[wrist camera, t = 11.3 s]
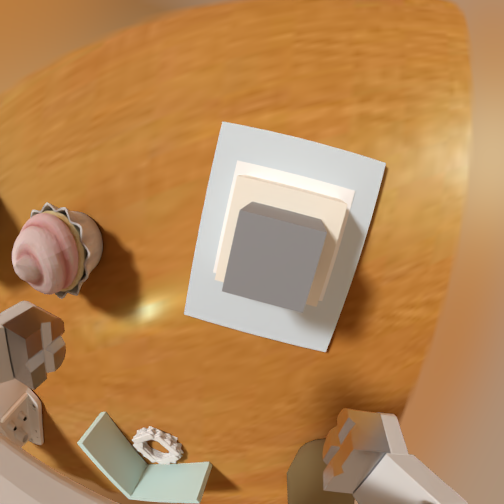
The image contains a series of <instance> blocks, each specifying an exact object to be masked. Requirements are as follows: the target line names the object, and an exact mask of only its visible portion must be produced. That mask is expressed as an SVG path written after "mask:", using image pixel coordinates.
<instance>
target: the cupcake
mask: <svg viewBox="0 0 504 504" xmlns="http://www.w3.org/2000/svg"><path fill="white" fill-rule="evenodd" d="M102 251H103V241H102V236H101V232H100V230H99V228H98V226H97V225H96V223H95V222H94V220H93V219H91V218H90V217H89V216H88V215H86V214H84V213H82V212H75V211H70V210H68V209H67V208H65V207H62V208H57V207H55V206H54V205H52V204H50V203H48V202H47V203H46V204H45V205H44V206H43V208H42V210H41V211H38V210H32V212H31V218H30V219H29V220H28V221H27V222H26V223H25V225H24V226H23V228H22V230H21V232H20V234H19V235H18V237H17V239H16V241H15V243H14V246H13V250H12V264H13V267H14V270H15V272H16V274H17V275H18V276H19V277H20V278H21V279H22V280H24V281H26V282H27V283H29V284H30V285H31V286H32V287H33V288H34V289H36V290H38V291H40V292H42V293H44V294H54V293H55V294H56V295H57V296H58V297H59V298H61V299H62V298H64V297H65V296H66V294H67V293H70V294H72V295H78V293H79V291H80V288H81V286H82V284H83V282H85V281H86V280H87V279H88V277H89V274H90V272H91V271H92V270H93V269H94V268H95V267H96V265H97V264H98V263H99V261H100V258H101V255H102Z"/></svg>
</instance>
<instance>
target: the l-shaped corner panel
mask: <svg viewBox="0 0 504 504" xmlns="http://www.w3.org/2000/svg"><path fill="white" fill-rule="evenodd" d="M133 438H134V439H132V441H133V442H134V444H133V446H134V447H135V448H136V449H137V451H138V452H141V453H142V454H143V456H144V457H146V458H148V459H149V460H150V461H151V462H156V461H157V462H158V463H159V464H147V463H146V462H145V461H144V460H143V458H142V457H141V456H140V455H139V454H138V452H137V451H136V450H135V449H134V448H133V446H132V445H131V444H130V443H129V441H128V440H127V439H126V438H125V436H124V435H123V434H122V433H121V431H120V430H119V429H118V427H117V426H116V425H115V423H114V422H113V421H112V419H111V418H110V417H109V415H108V414H107V413H106V412H101V413H100V414H99V416H98V417H97V418H96V419H95V421H94V422H93V423H92V425H91V426H90V427H89V428H88V430H87V431H86V432H85V433H84V435H83V436H82V437H81V439H80V440H79V441H78V443H77V444H78V445H79V446H80V447H81V448H82V450H83V451H84V452H85V453H86V454H87V456H88V457H89V458H90V459H91V460H92V461H93V462H94V464H95V465H96V466H97V467H98V468H99V469H100V470H101V471H102V472H103V473H104V474H105V476H106V477H107V478H108V479H109V480H110V481H111V482H112V483H113V484H114V485H115V486H116V487H117V488H118V489H119V490H120V491H121V492H122V493H123V494H124V495H125V496H126V497H127V498H128V499H131V500H142V501H153V502H169V503H200V502H201V499H202V496H203V493H204V490H205V487H206V484H207V480H208V477H209V474H210V471H211V468H212V464H211V463H210V462H199V463H182V464H170V462H171V463H176V460H179V458H181V456H182V455H181V454H182V453H183V451H182V450H181V446H182V444H181V443H178V442H176V441H177V439H178V438H177V437H174V436H172V435H170V434H167V433H165V432H162V431H160V430H158V429H156V428H153V427H151V426H149V428H148V429H146V428H144V427H143V428H142V429H140V430H137V434H136V435H135V436H134V437H133ZM148 440H154V441H157V442H159V443H160V444H161V445H162V446H164V447H165V448H166V449H167V450H168V451H169V453H162V452H160V451H157V450H155V449H153V448H151V447H150V446H149V445H148V444H147V442H146V441H148Z"/></svg>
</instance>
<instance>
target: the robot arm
mask: <svg viewBox="0 0 504 504" xmlns="http://www.w3.org/2000/svg"><path fill="white" fill-rule="evenodd" d="M64 332H65V330H64V322H63V321H62V320H61V318H59V317H57V316H55V315H53V314H51V313H49V312H47V311H45V310H44V309H42V308H40V307H37V306H36V305H34V304H32V303H30V302H28V301H21V302H20V303H18V304H16V305H14V306H12V307H10V308H9V309H7V310H5V311H3V312H1V313H0V504H120V503H118V502H115V501H113V500H111V499H109V498H107V497H104V496H103V495H100V494H98V493H96V492H94V491H92V490H90V489H88V488H86V487H85V486H83V485H81V484H79V483H77V482H75V481H73V480H71V479H70V478H68V477H66V476H64V475H63V474H61V473H59V472H58V471H56V470H54V469H53V468H51V467H49V466H48V465H46V464H45V463H43V462H41V461H40V460H38V459H37V458H35V457H34V456H32V455H31V454H29V453H28V452H26V451H25V450H23V449H22V448H21V447H22V446H23V445H24V444H25V443H26V442H27V441H30V442H32V443H34V444H37V445H42V444H43V443H44V438H43V425H42V405H41V401H40V400H39V398H38V397H37V396H36V395H35V394H34V393H33V391H32V390H31V389H33V390H35V389H36V388H37V387H38V386H39V385H40V384H41V383H43V382H44V381H45V380H46V379H47V373H49V372H53V371H56V370H57V369H58V368H59V367H60V366H61V364H62V362H63V360H64V358H65V353H66V347H65V343H64V341H63V339H62V337H61V336H62V334H63V333H64ZM29 387H30V388H31V389H30V388H29ZM323 461H324V462H325V463H326V464H327V467H326V468H325V470H324V471H323V485H324V490H325V491H333V492H341V493H351V494H353V496H354V498H355V499H356V501H357V502H358V504H468V503H467V501H466V500H464V499H463V498H462V497H461V496H460V495H459V494H457V493H456V492H455V491H454V490H453V489H452V488H451V487H449V486H448V485H447V484H446V483H445V482H444V481H442V480H441V479H440V478H439V477H438V476H437V475H436V474H434V473H433V472H432V471H431V470H430V469H429V468H428V467H426V466H425V465H424V464H423V463H422V462H421V461H420V460H419V459H417V458H416V457H415V456H414V455H409V454H408V450H407V447H406V444H405V441H404V438H403V435H402V432H401V428H400V425H399V422H398V419H397V417H396V416H395V415H394V414H389V413H379V412H378V413H375V412H368V411H361V410H354V409H348V408H343V409H342V410H341V411H340V413H339V415H338V417H337V426H335V427H334V428H332V429H330V431H329V433H328V435H327V437H326V440H325V443H324V446H323Z"/></svg>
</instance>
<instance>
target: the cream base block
mask: <svg viewBox="0 0 504 504" xmlns="http://www.w3.org/2000/svg"><path fill="white" fill-rule="evenodd" d="M252 201H253V202H257V203H261V204H265V205H269V206H273V207H276V208H280V209H284V210H288V211H292V212H296V213H299V214H303V215H307V216H311V217H314V218H318V219H321V220H322V222H323V225H324V227H325V229H326V232H327V235H326V238H325V242H324V245H323V249H322V252H321V255H320V259H319V262H318V265H317V269H316V272H315V275H314V279H313V282H312V285H311V288H310V292H309V295H308V298H307V301H306V304H307V305H311V306H315V307H317V304H318V301H319V298H320V295H321V292H322V289H323V286H324V283H325V280H326V276H327V273H328V270H329V267H330V264H331V260H332V257H333V254H334V250H335V247H336V244H337V240H338V237H339V233H340V230H341V226H342V223H343V219H344V216H345V212H346V209H347V205H348V204H347V203H345V202H344V201H343V200H341V199H338V198H335V197H331V196H328V195H324V194H320V193H317V192H313V191H309V190H306V189H302V188H298V187H294V186H290V185H286V184H282V183H278V182H274V181H270V180H266V179H262V178H258V177H254V176H249V175H238V176H237V179H236V183H235V187H234V192H233V196H232V201H231V205H230V210H229V214H228V219H227V224H226V228H225V233H224V237H223V242H222V247H221V252H220V256H219V261H218V266H217V271H216V276H215V280H217V281H221V282H224V278H225V274H226V269H227V265H228V260H229V255H230V251H231V246H232V242H233V237H234V233H235V228H236V224H237V220H238V215H239V211H240V209H242V208H243V207H245V206H246V205H248V204H249V203H251V202H252Z"/></svg>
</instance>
